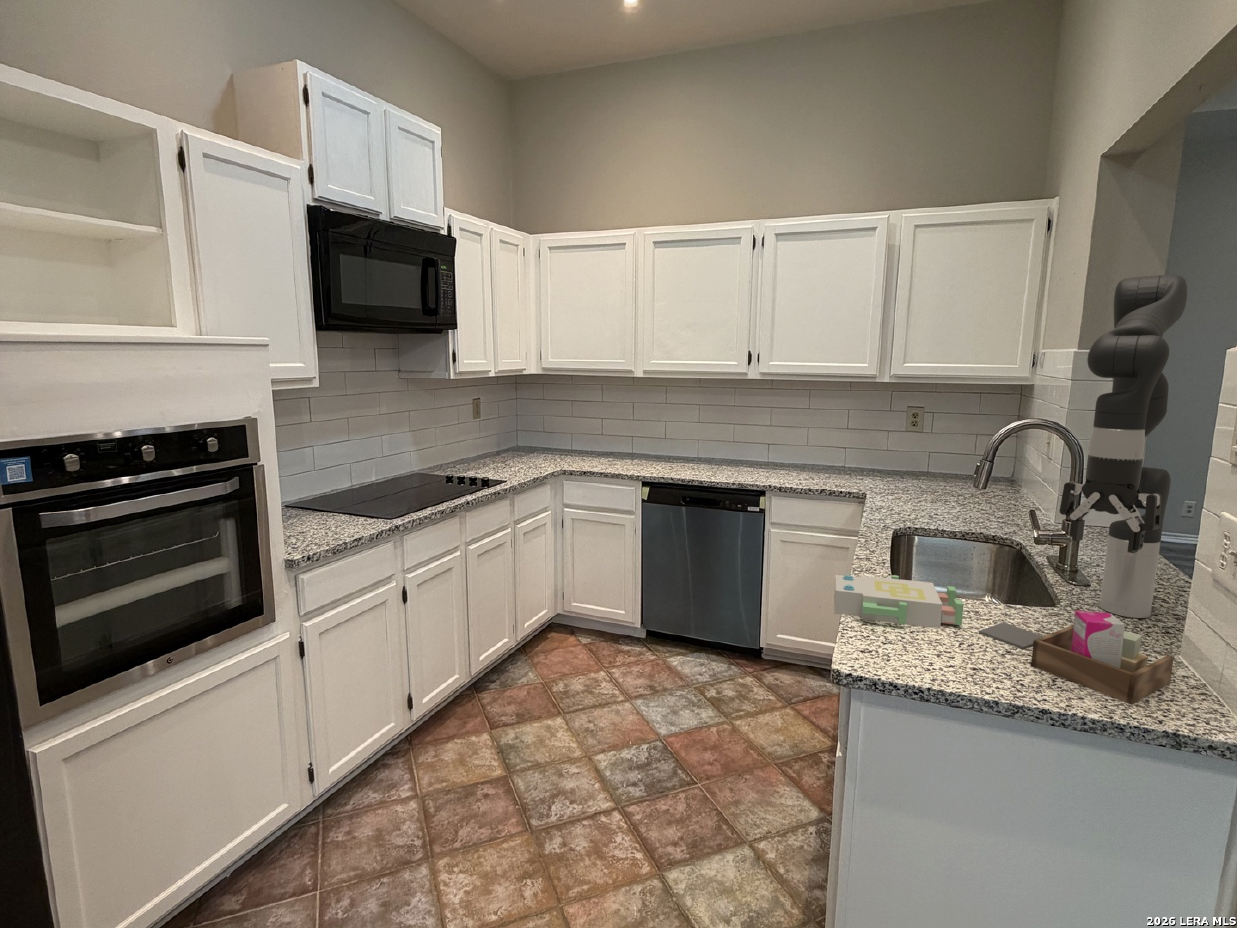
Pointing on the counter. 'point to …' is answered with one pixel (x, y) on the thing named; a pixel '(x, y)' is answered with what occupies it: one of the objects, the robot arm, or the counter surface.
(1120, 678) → the rack
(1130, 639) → the offcut top
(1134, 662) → the offcut low
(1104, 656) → the supplement box
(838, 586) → the decorative block
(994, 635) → the mat
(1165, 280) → the robot arm
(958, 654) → the counter surface
